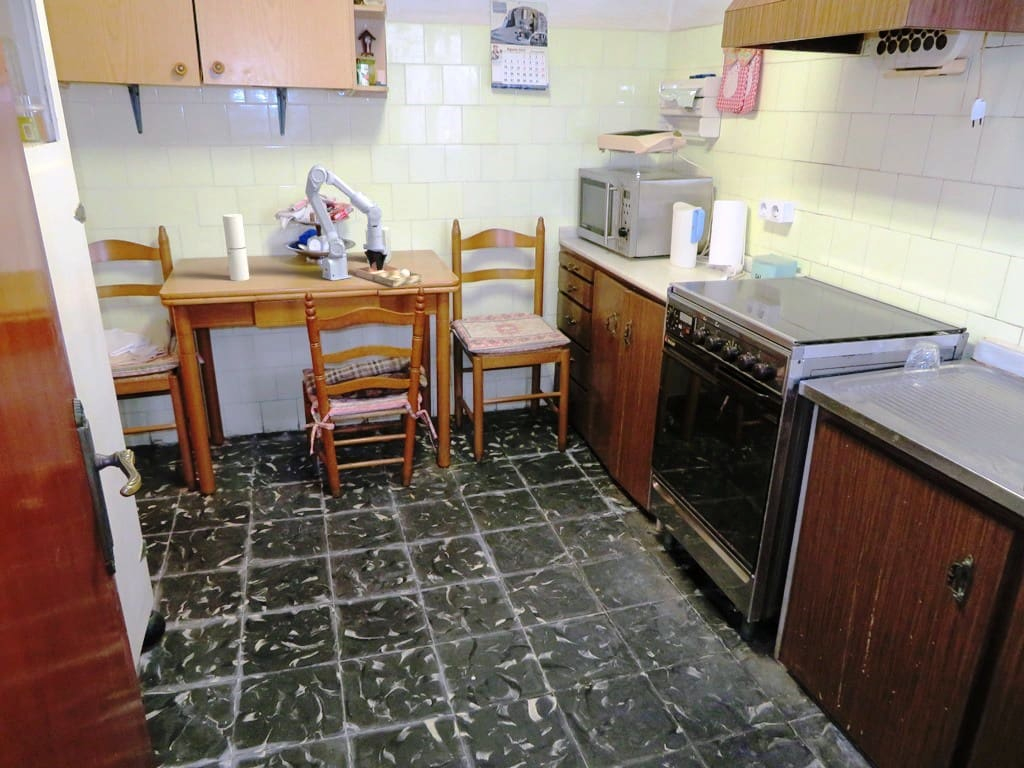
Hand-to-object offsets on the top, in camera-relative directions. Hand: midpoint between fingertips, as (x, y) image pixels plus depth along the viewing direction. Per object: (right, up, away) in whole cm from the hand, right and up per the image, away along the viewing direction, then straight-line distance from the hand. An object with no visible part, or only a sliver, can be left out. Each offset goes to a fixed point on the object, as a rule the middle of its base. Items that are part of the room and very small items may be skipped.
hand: (376, 269), depth 298 cm
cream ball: (+12, -3, -5) cm, 14 cm away
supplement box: (-4, +7, +27) cm, 28 cm away
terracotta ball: (0, +1, 0) cm, 1 cm away
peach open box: (+1, -2, +2) cm, 3 cm away
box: (+10, -6, -7) cm, 13 cm away
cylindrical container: (-53, -5, -8) cm, 54 cm away
